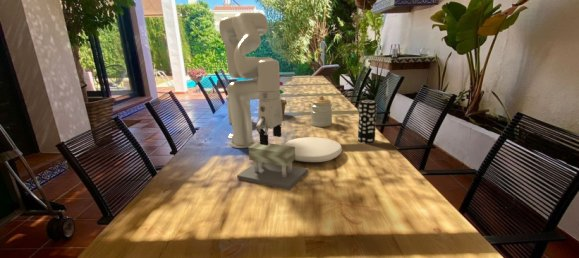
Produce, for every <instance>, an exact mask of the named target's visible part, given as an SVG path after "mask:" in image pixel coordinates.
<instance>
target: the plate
mask: <svg viewBox="0 0 579 258" xmlns="http://www.w3.org/2000/svg"><path fill="white" fill-rule="evenodd" d="M282 145H285V146H292V147H295V160H294V161H298V162H304V163H322V162H329V161H331V160H333V159H335V158H337V157H338V156H340V154H342V151H343V148H342V145H341V144H340V143H339V142H337V141H335V140H333V139H329V138H325V137H318V136H317V137H314V136H313V137H310V136H309V137H299V138H294V139H290V140H288V141H286V142H285V143H283V144H282Z"/></svg>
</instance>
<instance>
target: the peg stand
mask: <svg viewBox="0 0 579 258" xmlns="http://www.w3.org/2000/svg"><path fill="white" fill-rule="evenodd" d="M308 173H309V169H308V168H307V167H301V166H295V165H293V162H292V163H290V164H289V165H288V166H282V165H277V164H271V163H265V162H259V161H254V160H253V164H252V165H250V166H249V167H247V168H246V169H245V170H243V171H241V172H240V173H237V175H236V177H237V180H241V181H245V182H250V183H255V184H261V185H264V186H269V187H272V188H273V187H274V188H279V189H283V190H288V191H290V190H291V189H293V187H294V186H296V185H297V184H298V183H299V182H300V181H301V180H302V179H303V178H304V177H305V176H306V175H307V174H308Z"/></svg>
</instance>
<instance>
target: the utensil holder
mask: <svg viewBox="0 0 579 258" xmlns="http://www.w3.org/2000/svg"><path fill="white" fill-rule="evenodd" d="M225 98H226V104H227V115H228V116H227V117H228V123H229V124H230V125H232V117H231V106H230V101H229V96H228V94H227V95H226V96H225ZM245 103H246V104H247V105H248V106H249V107H250V108H251V100H247V101H245Z"/></svg>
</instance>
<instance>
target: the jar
mask: <svg viewBox="0 0 579 258" xmlns="http://www.w3.org/2000/svg"><path fill="white" fill-rule="evenodd" d="M331 102H332V101H331V100H330V99H329V98H328V97H327V98H326V97H324V95H319V97H317V98H314V99H312V101H311V104H310V107H311V108H310V124H311V126H313V127H318V128H319V127H320V128H325V127H326V128H327V127H330V126H332V125H333V124H332V123H333V109H332V108H333V104H332V103H331Z"/></svg>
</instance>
